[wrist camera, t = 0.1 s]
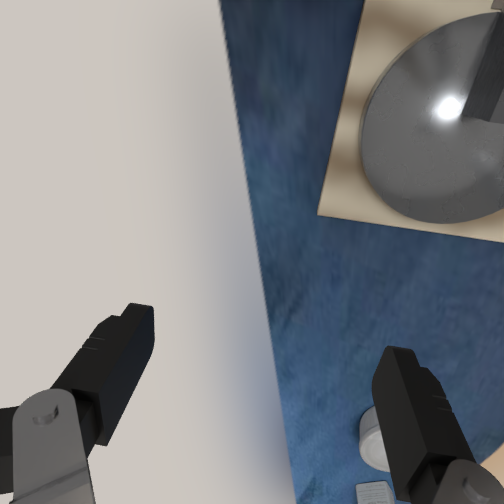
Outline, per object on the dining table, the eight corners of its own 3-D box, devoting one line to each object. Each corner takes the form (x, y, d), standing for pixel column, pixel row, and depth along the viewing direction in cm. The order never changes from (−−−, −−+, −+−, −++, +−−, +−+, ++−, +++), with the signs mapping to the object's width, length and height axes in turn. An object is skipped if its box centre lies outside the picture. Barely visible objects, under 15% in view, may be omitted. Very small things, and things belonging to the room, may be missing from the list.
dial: (392, -7, 29) (424, -29, 22) (613, 20, 28) (722, 6, 21) (339, 202, 38) (349, 234, 31) (505, 226, 37) (555, 265, 30)
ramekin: (414, 389, 52) (426, 421, 48) (434, 433, 56) (446, 466, 52) (344, 406, 56) (348, 437, 51) (367, 446, 60) (373, 478, 55)
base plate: (370, -27, 29) (372, -30, 28) (636, 5, 28) (649, 3, 27) (316, 211, 40) (317, 215, 39) (508, 239, 39) (514, 244, 38)
